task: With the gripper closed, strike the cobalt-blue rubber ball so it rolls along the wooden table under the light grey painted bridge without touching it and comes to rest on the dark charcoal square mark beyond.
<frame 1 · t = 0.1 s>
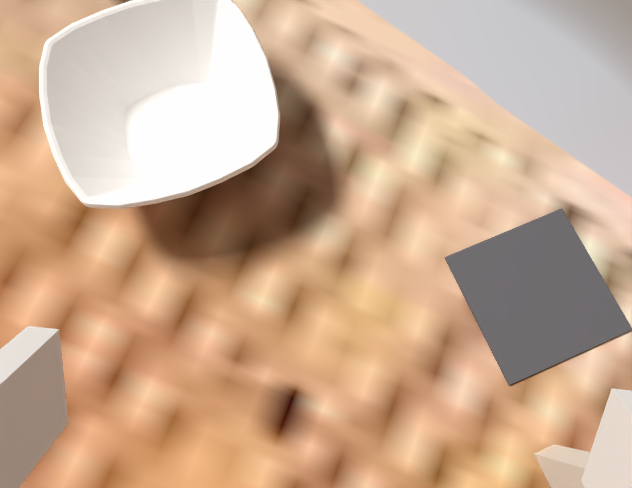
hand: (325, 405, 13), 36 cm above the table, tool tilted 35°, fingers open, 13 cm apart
bridge: (614, 436, 46), on the table
bowl: (181, 137, 55), on the table
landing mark: (536, 293, 50), on the table
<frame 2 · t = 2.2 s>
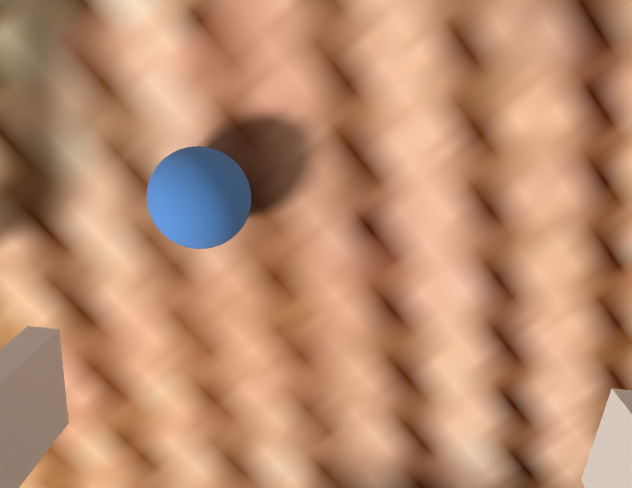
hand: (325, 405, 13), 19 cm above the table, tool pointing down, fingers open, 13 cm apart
ball: (200, 198, 28), on the table
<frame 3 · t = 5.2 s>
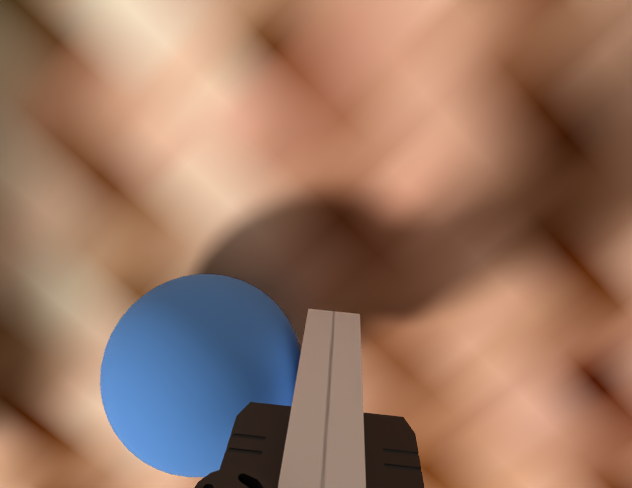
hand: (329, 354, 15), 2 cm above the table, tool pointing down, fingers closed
ball: (205, 370, 15), on the table, touching gripper
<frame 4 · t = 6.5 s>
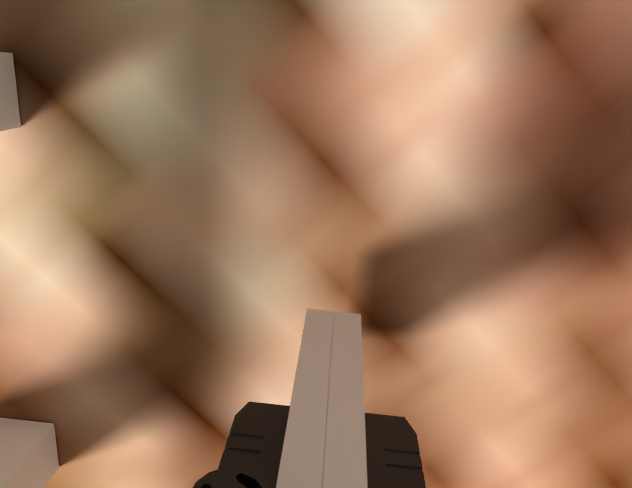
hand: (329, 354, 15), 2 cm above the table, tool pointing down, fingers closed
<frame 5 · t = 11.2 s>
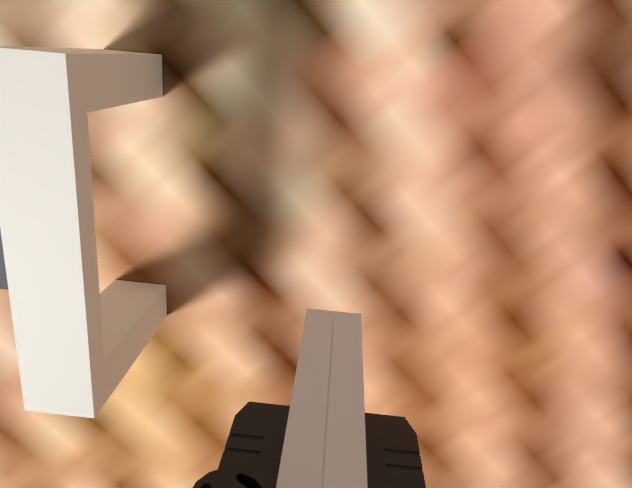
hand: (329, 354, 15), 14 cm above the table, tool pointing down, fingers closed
bridge: (137, 194, 28), on the table
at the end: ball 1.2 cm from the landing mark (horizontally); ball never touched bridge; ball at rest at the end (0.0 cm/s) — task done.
